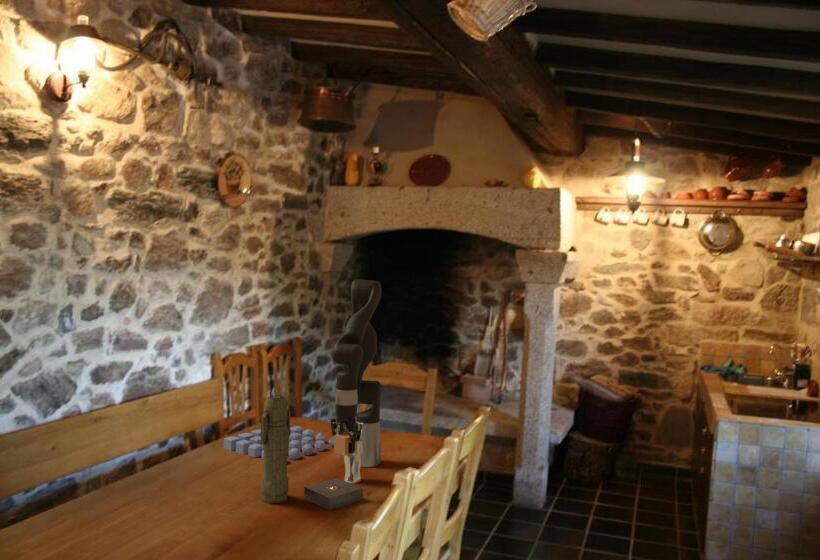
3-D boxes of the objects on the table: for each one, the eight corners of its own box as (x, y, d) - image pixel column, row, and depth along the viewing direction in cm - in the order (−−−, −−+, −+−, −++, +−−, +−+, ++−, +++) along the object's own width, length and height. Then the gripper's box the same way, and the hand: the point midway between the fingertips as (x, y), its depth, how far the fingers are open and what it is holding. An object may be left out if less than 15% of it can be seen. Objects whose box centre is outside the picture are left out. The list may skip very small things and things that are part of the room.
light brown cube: (346, 449, 243) (346, 432, 243) (356, 452, 239) (357, 435, 239) (334, 452, 239) (334, 435, 239) (344, 455, 235) (345, 438, 235)
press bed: (336, 489, 248) (336, 477, 248) (362, 499, 238) (362, 488, 238) (304, 498, 238) (304, 487, 238) (330, 510, 228) (330, 498, 228)
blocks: (284, 433, 321) (285, 422, 321) (341, 447, 300) (341, 436, 300) (223, 449, 293) (223, 438, 292) (280, 467, 272) (280, 454, 272)
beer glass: (358, 484, 253) (359, 443, 252) (340, 482, 254) (341, 442, 253) (364, 478, 260) (364, 438, 259) (346, 476, 261) (346, 437, 260)
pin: (334, 495, 240) (334, 485, 240) (339, 497, 238) (339, 487, 238) (327, 497, 238) (327, 487, 238) (332, 499, 236) (332, 489, 236)
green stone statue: (296, 495, 240) (297, 395, 238) (273, 506, 230) (274, 401, 228) (276, 490, 245) (277, 391, 243) (253, 501, 234) (254, 398, 233)
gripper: (368, 404, 236) (367, 453, 237) (341, 397, 246) (340, 445, 247) (352, 407, 231) (351, 457, 232) (324, 400, 241) (323, 448, 241)
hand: (345, 450), depth 239 cm, fingers closed on light brown cube, 5 cm apart
